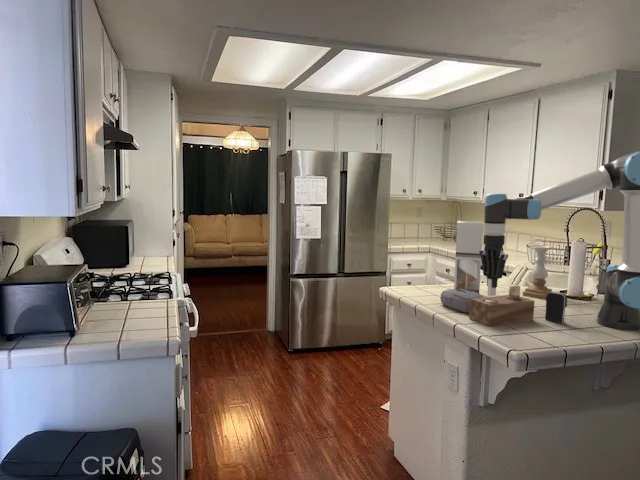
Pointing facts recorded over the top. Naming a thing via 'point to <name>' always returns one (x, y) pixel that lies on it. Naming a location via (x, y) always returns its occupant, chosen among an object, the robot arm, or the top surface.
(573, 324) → the top surface
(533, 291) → the candle holder
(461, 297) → the soft grey pack
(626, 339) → the top surface
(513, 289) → the inner peg
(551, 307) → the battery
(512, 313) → the collar block
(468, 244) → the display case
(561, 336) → the top surface
